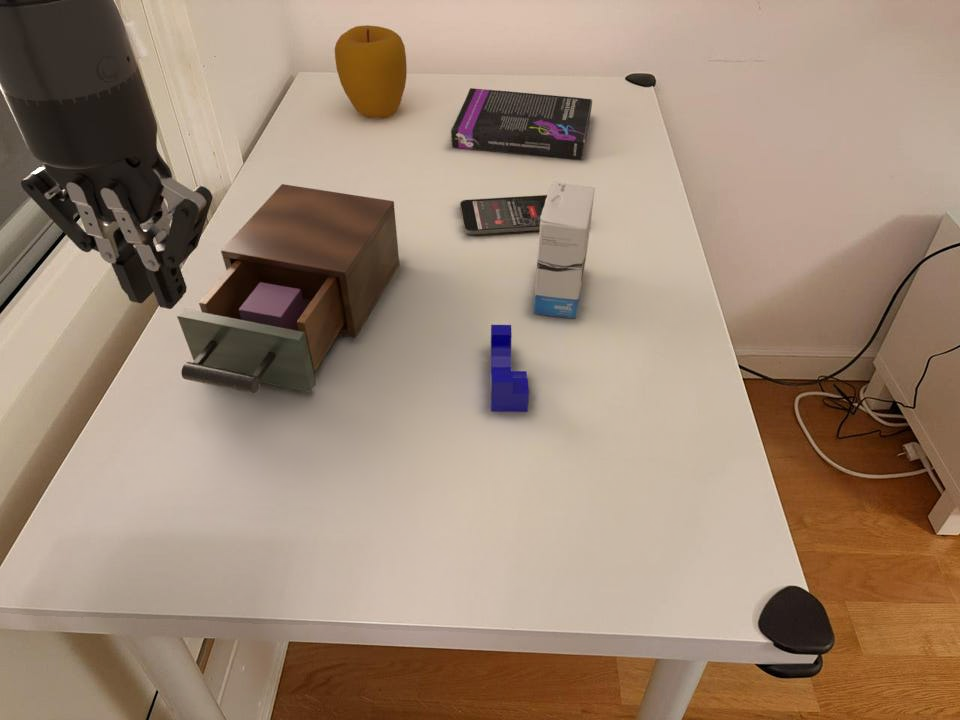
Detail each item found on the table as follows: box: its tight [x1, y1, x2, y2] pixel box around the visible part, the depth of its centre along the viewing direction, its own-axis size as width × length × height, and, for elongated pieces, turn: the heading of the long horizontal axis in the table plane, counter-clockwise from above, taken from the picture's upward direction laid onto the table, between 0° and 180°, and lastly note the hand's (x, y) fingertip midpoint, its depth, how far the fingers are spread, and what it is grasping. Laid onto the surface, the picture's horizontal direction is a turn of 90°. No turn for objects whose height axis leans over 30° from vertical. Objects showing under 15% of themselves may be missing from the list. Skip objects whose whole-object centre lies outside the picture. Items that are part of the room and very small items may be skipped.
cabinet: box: [220, 183, 400, 339], centre depth 80 cm, size 14×14×9 cm
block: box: [239, 282, 305, 331], centre depth 73 cm, size 4×4×4 cm
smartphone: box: [459, 194, 548, 236], centre depth 93 cm, size 7×1×15 cm
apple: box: [334, 25, 408, 119], centre depth 111 cm, size 11×11×13 cm
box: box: [450, 87, 593, 160], centre depth 109 cm, size 14×4×20 cm
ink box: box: [532, 181, 596, 319], centre depth 78 cm, size 8×5×12 cm, turn 168°
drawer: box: [176, 259, 346, 395], centre depth 71 cm, size 17×12×7 cm
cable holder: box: [490, 324, 530, 413], centre depth 71 cm, size 8×4×4 cm, turn 0°
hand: (158, 298), depth 54 cm, fingers closed
